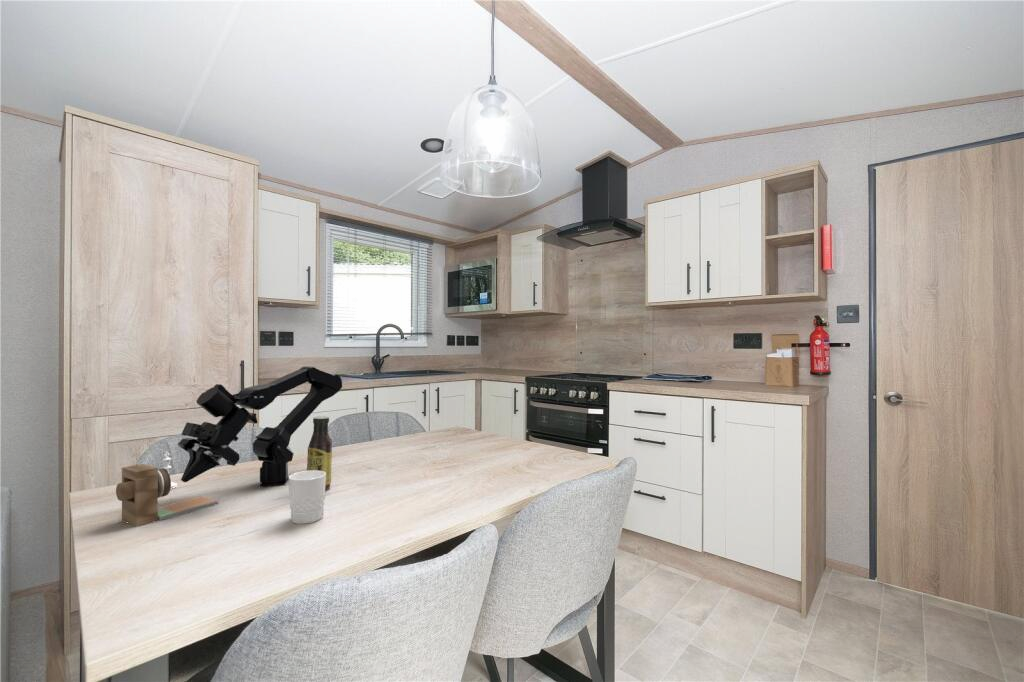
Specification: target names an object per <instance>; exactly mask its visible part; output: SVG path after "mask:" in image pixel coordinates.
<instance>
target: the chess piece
mask: <svg viewBox="0 0 1024 682" xmlns="http://www.w3.org/2000/svg"><path fill="white" fill-rule="evenodd" d="M162 455H163V457H164V458H162V460H161V461H162V463H163V466H162V468H164V469H166V470H167V471H168V473H169V474H170V469H172V466H171V465H170V464H171V461H172V457H169V456H171V453H170V452H169V451H165V453H164V454H162ZM162 468H161V469H162ZM175 487H176V488H177V487H178V483H177V482H173V481H172V480H171V489H170V490H172V488H173V489H175Z"/></svg>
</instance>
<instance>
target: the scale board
mask: <svg viewBox="0 0 1024 682" xmlns="http://www.w3.org/2000/svg"><path fill="white" fill-rule="evenodd" d="M215 504H216V505H218V504H219V501H218V500H216V499H215V500H214V499H213V498H208V497H205V496H202V495H199V496H196V497H193V498H188V499H185V500H181V501H177V502H173V503H170V504H167V505H165V504H164V505H163V506H158V521H159V520H161V521H164V520H168V519H171V518H174V516H175V517H177V516H181V515H184V514H188V513H191V512H194V511H195V512H196V511H198V509H199V510H202V509H205V507H206V508H208V506H209V507H212V506H216V505H215ZM201 508H202V509H201ZM167 518H168V519H167ZM163 519H164V520H163Z"/></svg>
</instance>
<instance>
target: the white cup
mask: <svg viewBox="0 0 1024 682" xmlns="http://www.w3.org/2000/svg"><path fill="white" fill-rule="evenodd" d="M288 477H289V480H288V493H289V495H288V496H289V508H290V521H291V522H292V523H293V524H297V525H300V524H304V525H305V524H310V523H314V522H317V521H320V520H322V519H323V517H324V511H325V510H324V507H325V499H326V490H325V484H326V472H324V471H318V470H310V471H307V470H303V471H297V472H295V473H291V474H290V475H288Z"/></svg>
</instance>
